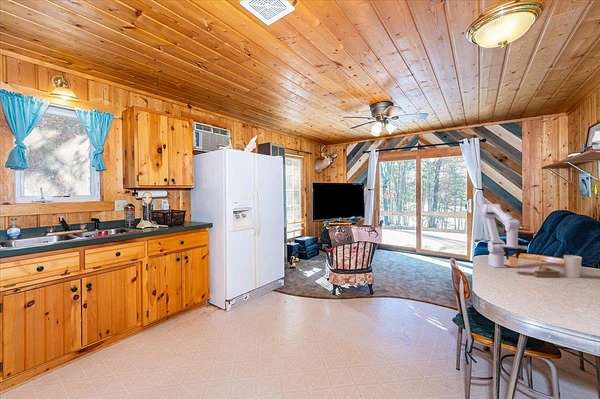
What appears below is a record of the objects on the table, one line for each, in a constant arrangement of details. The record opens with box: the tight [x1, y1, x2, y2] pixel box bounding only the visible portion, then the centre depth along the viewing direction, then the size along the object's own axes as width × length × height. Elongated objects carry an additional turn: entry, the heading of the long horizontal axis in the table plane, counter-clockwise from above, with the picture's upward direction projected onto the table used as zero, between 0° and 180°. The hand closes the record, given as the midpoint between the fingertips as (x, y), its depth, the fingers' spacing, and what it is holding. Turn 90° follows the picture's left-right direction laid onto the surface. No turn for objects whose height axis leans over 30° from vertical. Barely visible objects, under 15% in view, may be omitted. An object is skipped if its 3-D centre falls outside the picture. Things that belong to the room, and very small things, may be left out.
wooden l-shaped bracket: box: [534, 265, 561, 279], centre depth 173 cm, size 14×13×4 cm
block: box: [506, 255, 519, 267], centre depth 176 cm, size 8×4×5 cm, turn 152°
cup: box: [563, 254, 583, 279], centre depth 168 cm, size 8×8×12 cm
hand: (512, 259), depth 176 cm, fingers open, 4 cm apart
